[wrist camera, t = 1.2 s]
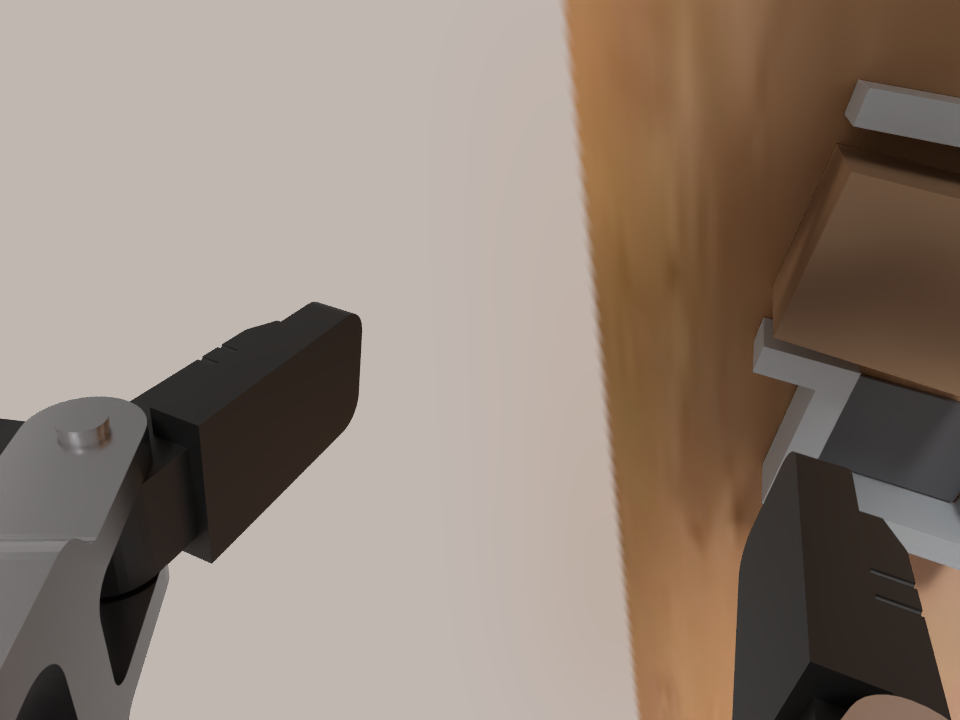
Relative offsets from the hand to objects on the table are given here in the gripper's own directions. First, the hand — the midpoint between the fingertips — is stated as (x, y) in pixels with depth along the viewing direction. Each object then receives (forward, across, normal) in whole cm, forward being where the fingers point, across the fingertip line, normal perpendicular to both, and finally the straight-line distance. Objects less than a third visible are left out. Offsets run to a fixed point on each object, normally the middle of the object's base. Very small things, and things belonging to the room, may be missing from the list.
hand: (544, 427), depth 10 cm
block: (+16, -8, 0) cm, 18 cm away
